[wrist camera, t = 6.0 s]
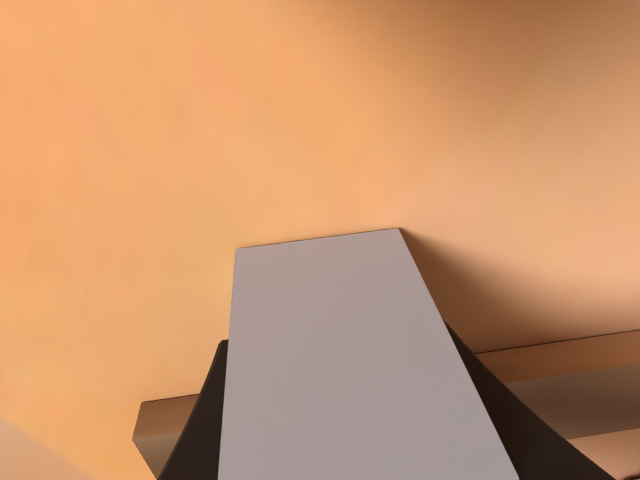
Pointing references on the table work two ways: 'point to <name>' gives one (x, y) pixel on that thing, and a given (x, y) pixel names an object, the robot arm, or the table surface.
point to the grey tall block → (347, 370)
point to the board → (513, 371)
